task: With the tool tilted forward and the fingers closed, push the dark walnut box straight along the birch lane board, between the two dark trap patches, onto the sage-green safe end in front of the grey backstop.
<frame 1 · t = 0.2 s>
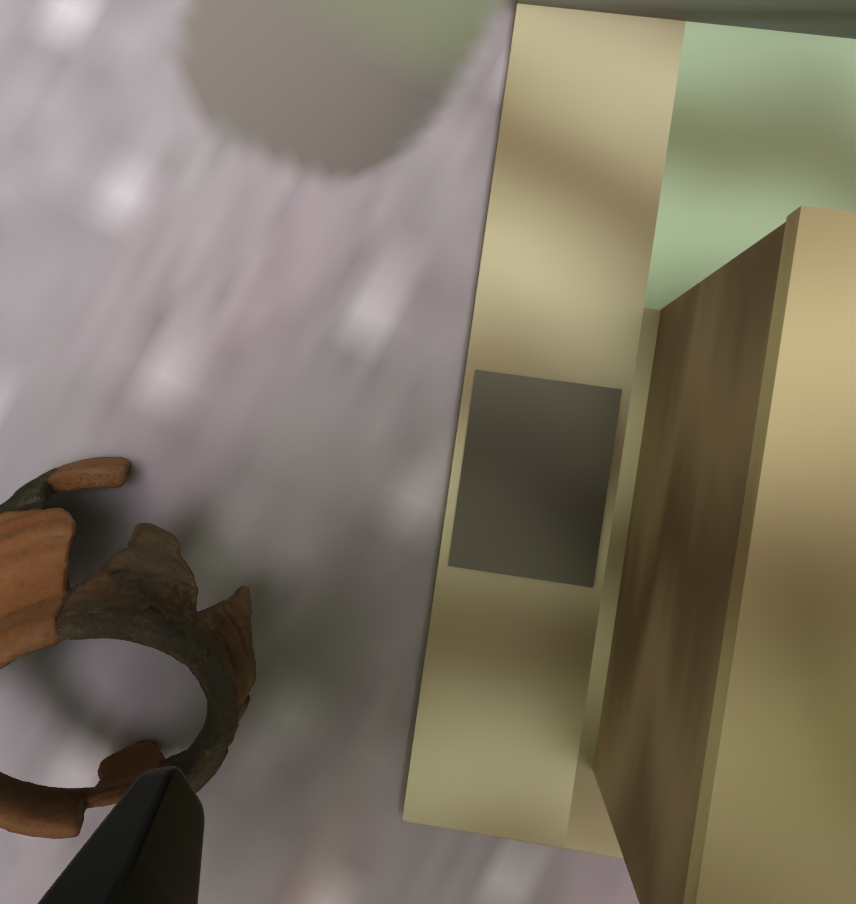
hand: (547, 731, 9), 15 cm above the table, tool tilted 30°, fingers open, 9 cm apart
brown piece: (99, 613, 25), on the table
lane board: (806, 449, 23), on the table
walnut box: (796, 566, 23), resting on lane board
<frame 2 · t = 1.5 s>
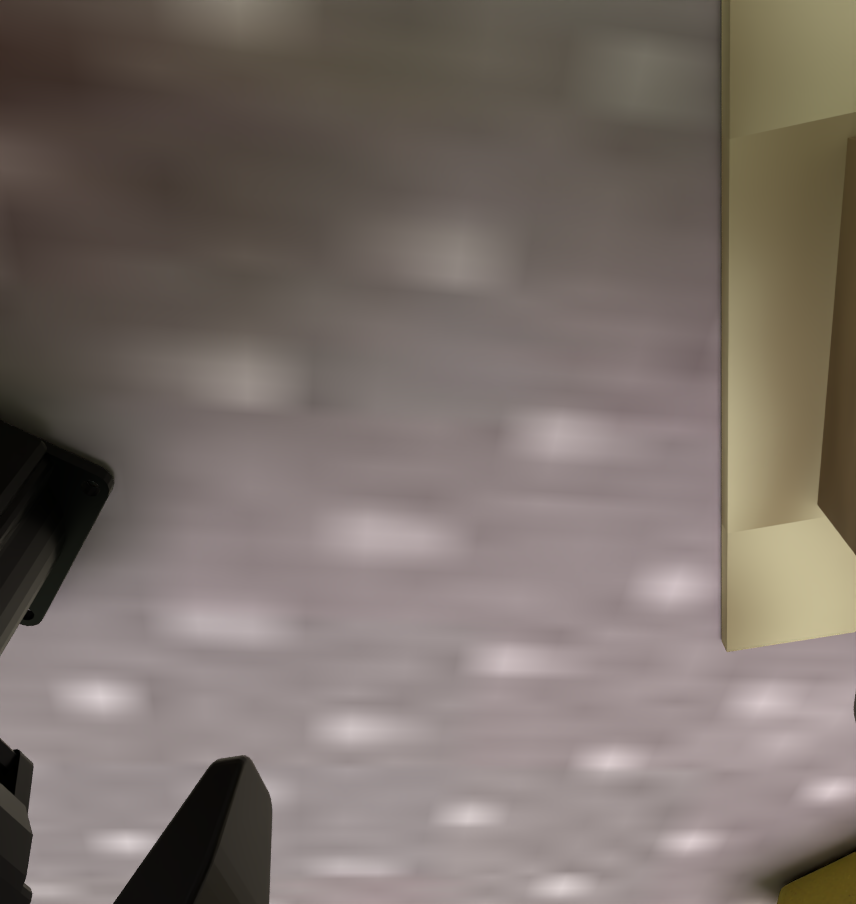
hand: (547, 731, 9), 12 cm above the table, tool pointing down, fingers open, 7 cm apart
flower pot: (855, 874, 34), on the table
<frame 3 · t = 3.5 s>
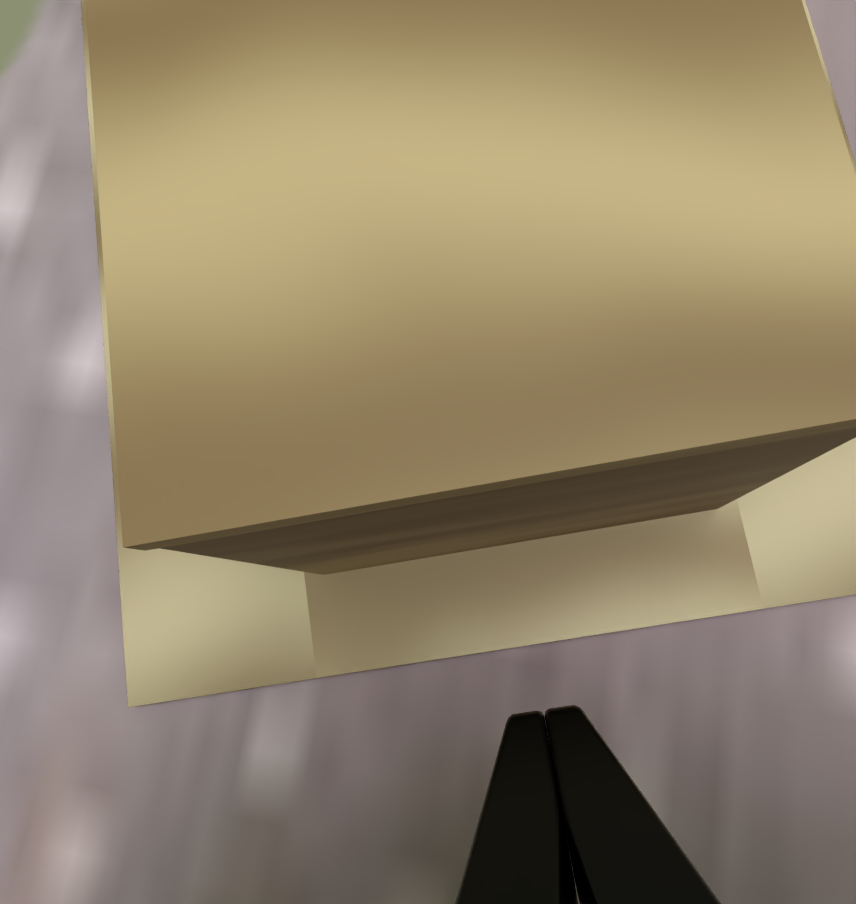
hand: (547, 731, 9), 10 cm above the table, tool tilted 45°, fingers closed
lane board: (450, 182, 22), on the table
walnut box: (469, 287, 21), resting on lane board
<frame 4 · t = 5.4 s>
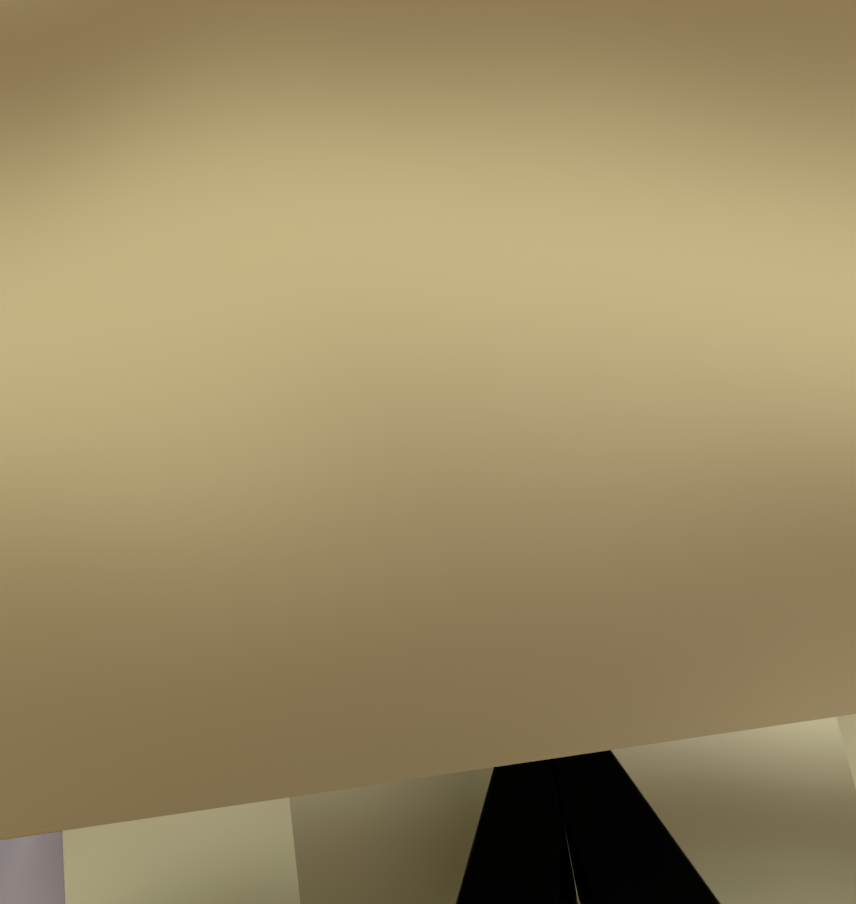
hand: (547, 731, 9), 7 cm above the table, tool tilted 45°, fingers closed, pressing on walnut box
lane board: (474, 322, 18), on the table
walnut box: (481, 353, 17), point 1 cm above the table, touching gripper
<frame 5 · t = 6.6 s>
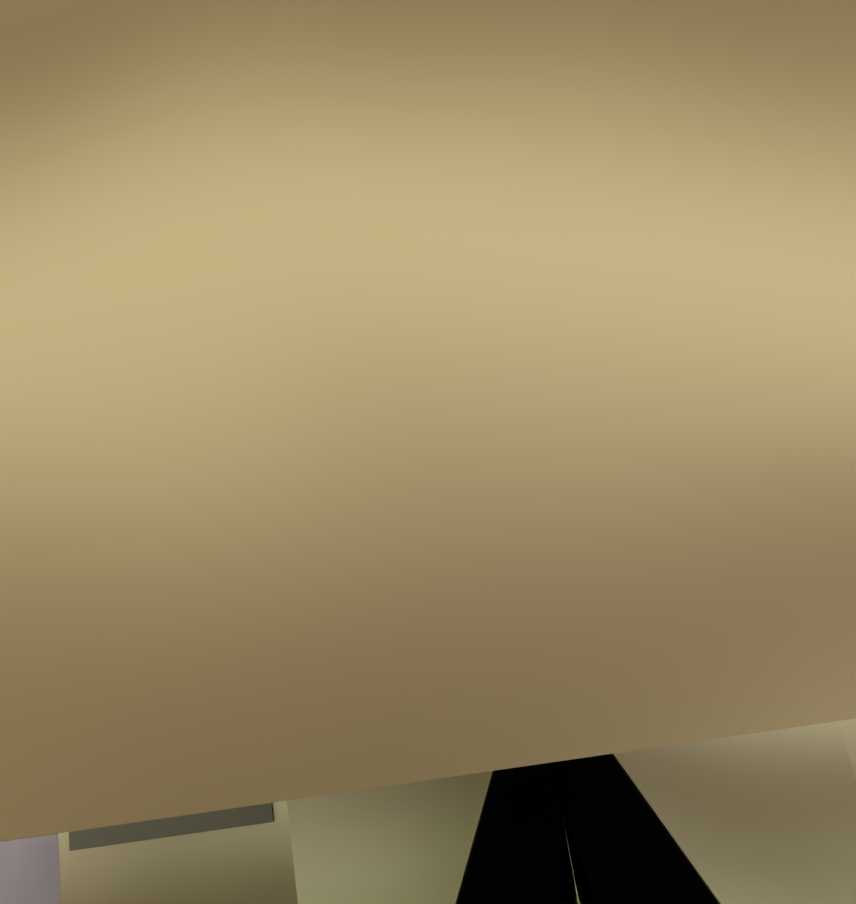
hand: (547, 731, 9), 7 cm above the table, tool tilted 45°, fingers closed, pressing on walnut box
lane board: (512, 533, 17), on the table
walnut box: (480, 348, 17), resting on lane board, touching gripper
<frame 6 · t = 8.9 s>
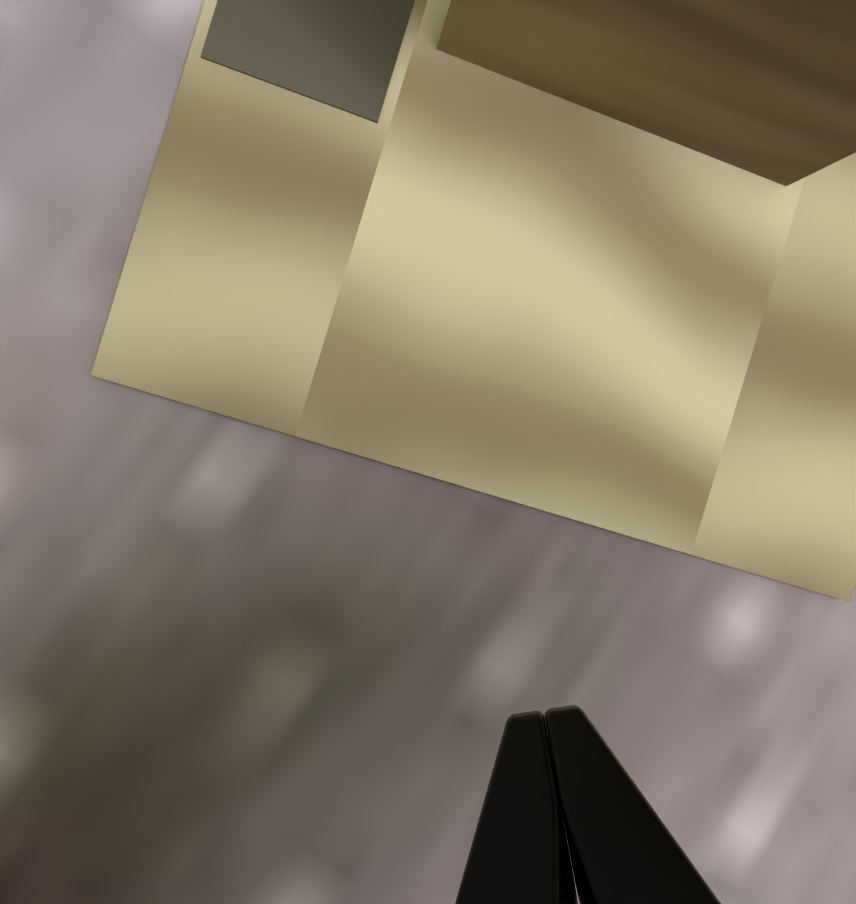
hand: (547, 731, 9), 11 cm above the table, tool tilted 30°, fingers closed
lane board: (639, 27, 20), on the table
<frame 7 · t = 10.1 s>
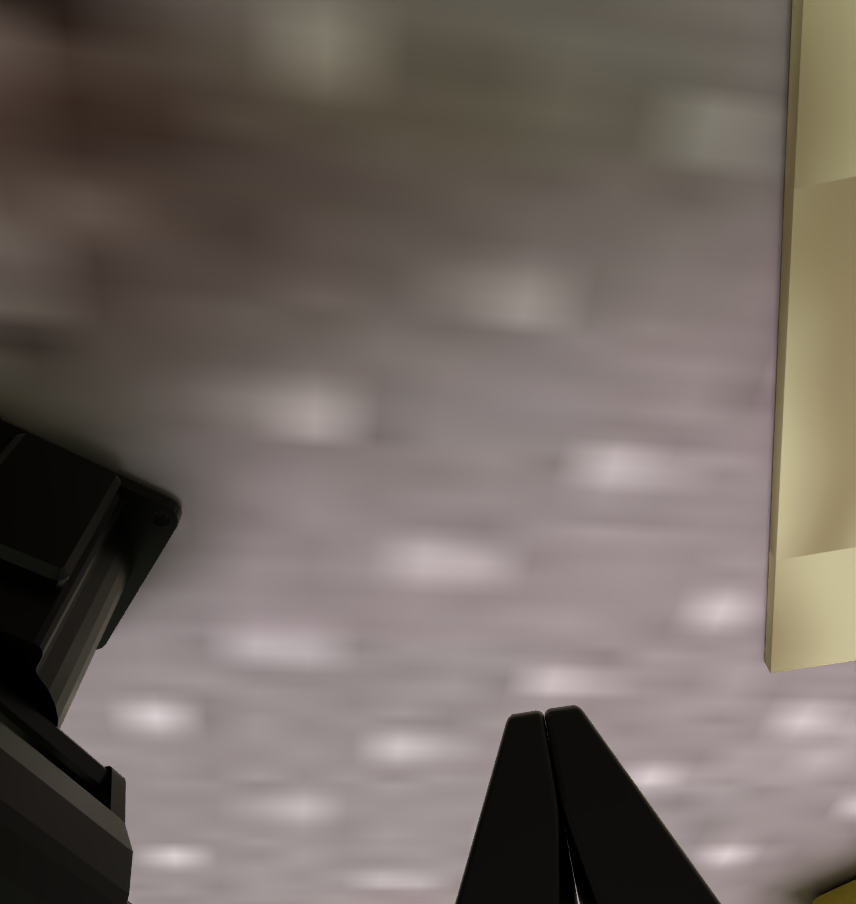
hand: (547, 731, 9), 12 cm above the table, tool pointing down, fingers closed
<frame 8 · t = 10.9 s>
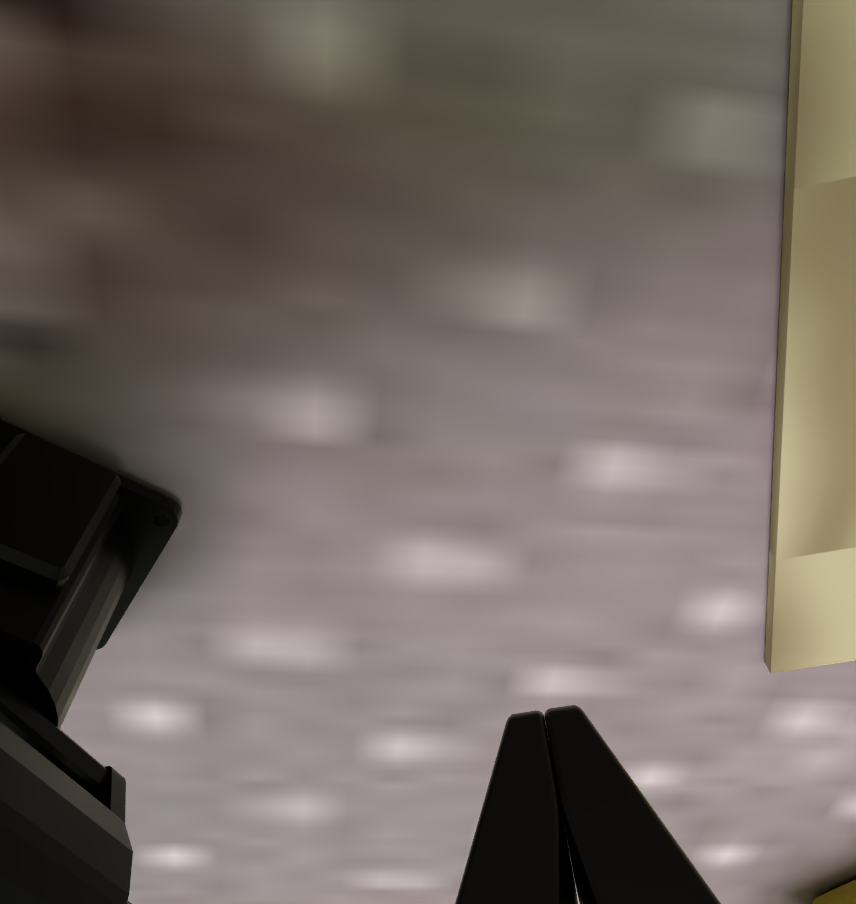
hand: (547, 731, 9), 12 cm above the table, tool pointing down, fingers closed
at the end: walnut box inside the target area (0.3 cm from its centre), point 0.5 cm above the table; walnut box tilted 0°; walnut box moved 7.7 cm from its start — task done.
